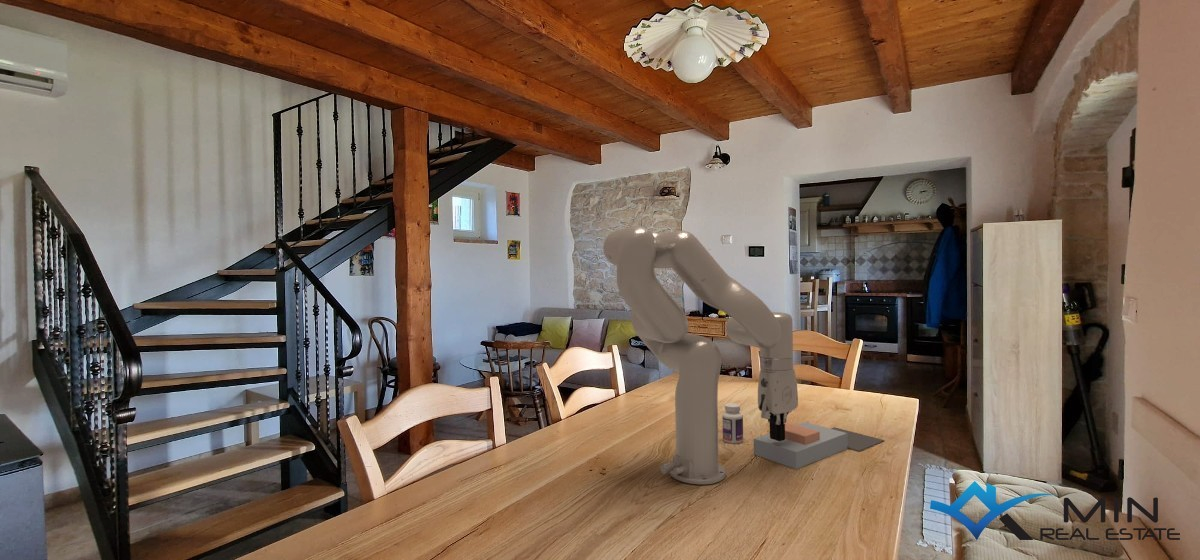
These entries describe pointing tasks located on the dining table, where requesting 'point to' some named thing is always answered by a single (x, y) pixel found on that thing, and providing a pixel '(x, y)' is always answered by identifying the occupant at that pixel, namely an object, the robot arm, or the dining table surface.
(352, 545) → the dining table surface
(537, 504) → the dining table surface
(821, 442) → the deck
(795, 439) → the tile
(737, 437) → the pill bottle
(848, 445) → the mat
